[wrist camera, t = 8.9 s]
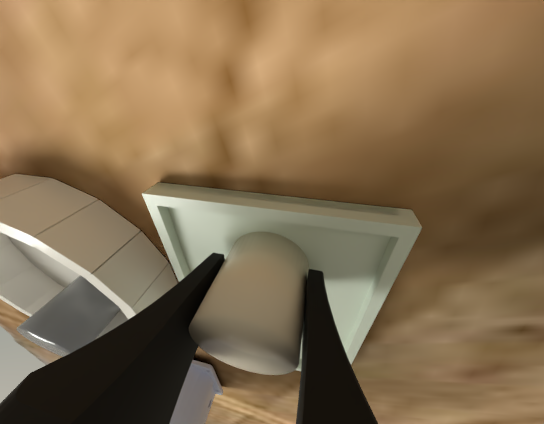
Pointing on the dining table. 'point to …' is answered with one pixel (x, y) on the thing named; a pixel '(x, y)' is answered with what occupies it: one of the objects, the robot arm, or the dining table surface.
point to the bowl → (73, 249)
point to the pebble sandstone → (256, 306)
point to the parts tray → (302, 231)
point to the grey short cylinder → (70, 318)
